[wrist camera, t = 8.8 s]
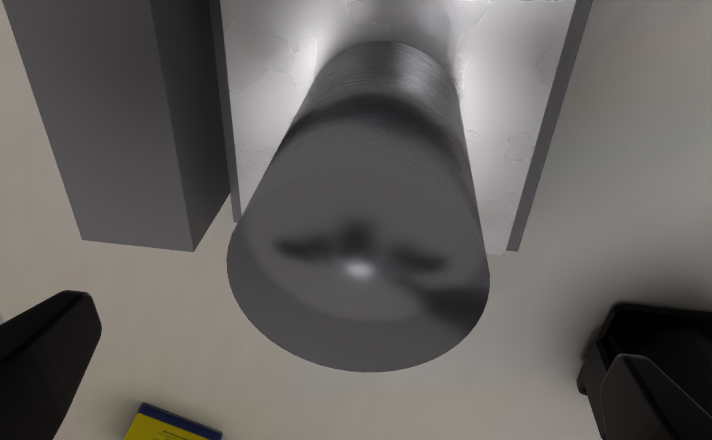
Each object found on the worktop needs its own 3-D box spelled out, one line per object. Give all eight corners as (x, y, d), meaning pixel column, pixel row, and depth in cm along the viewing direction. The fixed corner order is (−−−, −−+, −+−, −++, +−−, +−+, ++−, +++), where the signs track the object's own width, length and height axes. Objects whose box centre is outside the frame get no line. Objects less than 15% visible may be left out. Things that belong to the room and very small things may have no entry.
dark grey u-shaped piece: (598, -94, 15) (683, -82, 10) (510, 224, 22) (536, 322, 17) (100, -125, 16) (-40, -127, 11) (163, 189, 23) (93, 272, 18)
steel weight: (473, 48, 14) (518, 186, 8) (447, 193, 17) (463, 385, 11) (305, 34, 15) (212, 157, 8) (306, 179, 18) (238, 357, 11)
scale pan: (578, -50, 14) (589, -46, 13) (500, 239, 19) (504, 255, 18) (224, -73, 14) (212, -71, 13) (250, 214, 20) (242, 228, 19)
